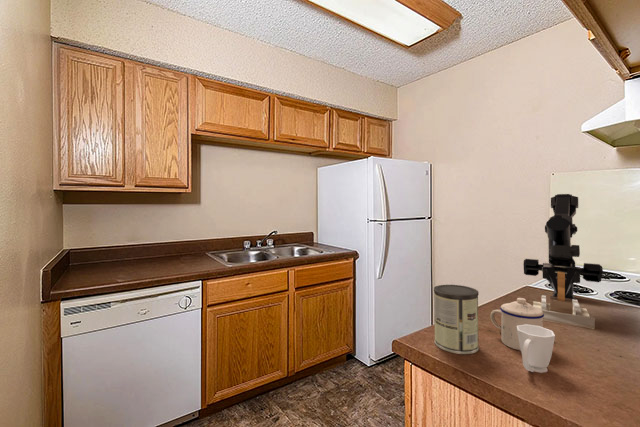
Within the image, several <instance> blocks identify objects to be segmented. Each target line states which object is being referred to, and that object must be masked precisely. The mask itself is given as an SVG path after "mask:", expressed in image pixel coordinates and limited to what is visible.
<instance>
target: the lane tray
mask: <svg viewBox="0 0 640 427" xmlns="http://www.w3.org/2000/svg"><path fill="white" fill-rule="evenodd" d="M572 303H573V314H567V313H560V312H554V311H550V302H548V303H547V295H541V302H540V301H532V306H534V307H536V308H539V309H540V310H542V312H543V314H544V317H543V322H544V321H545V322H551V323H556V324H557V323H558V324H562V325H569V326H573V327H574V326H575V327H581V328H584V329H585V328H586V329H592V330H596V329H595V327H596V325H595V324H596V323H595V321H596V319H595V317H592V316H590V314H589V311H588V310H587V308H584V307H583V308H582V307H580V303H579V301H578V299H575V300H574V299H572Z"/></svg>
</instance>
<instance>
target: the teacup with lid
mask: <svg viewBox="0 0 640 427" xmlns="http://www.w3.org/2000/svg"><path fill="white" fill-rule="evenodd" d="M496 313H497V314H501V320H500V322H501V325H500V324H499V323H498V322H497V321H496V318H495V316H496V315H495V314H496ZM489 317H490V321H491V323H492V325H493V326H494V327H495V328H497V329H499V330H500V331H501V338H500V339H501V342H502V343H503V344H504V345H505V346H506V347H508V348H510V349H513V350H516V351H519V352H521V349H520V343H519V337H518V331H517V326H518V325H525V324H528V325H535V326H541V327H543V326H544V320H543V317H544V314H543V312H542V310H540V309H539V308H536V307H534V306H533V304H531V303H529V302H527V299H526V298H523V297H517V298H516V301H511V302H508V303H503V304H501V305H500V308H499V309H494V310H491V312H490V316H489ZM543 328H544V327H543Z"/></svg>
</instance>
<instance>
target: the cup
mask: <svg viewBox="0 0 640 427" xmlns="http://www.w3.org/2000/svg"><path fill="white" fill-rule="evenodd" d="M517 331H518V337H519V343H520V349H521V351H520V353H521V357H522V358H521V359H522V365H523V368H524V369H525V370H526V371H529V372H531V373H535V372H536V373H540V374H542V373H547V372H548V368H547V367H548V366H549V365H550V361H551V359H552V356H553V355H552V354H553V350H554V344H555V338H556V335H555V332H554V331H553V330H551V329H548V328H546V327H541V326H535V325H528V324H525V325H518V326H517Z"/></svg>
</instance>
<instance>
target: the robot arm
mask: <svg viewBox="0 0 640 427" xmlns="http://www.w3.org/2000/svg"><path fill="white" fill-rule="evenodd" d="M550 208H551V209H552V210H553V215H552V216H550V217H549V219H548V220H547V221H546V223H545V225H544V232H545V233H546V234H547V239H548V243H547V244H548V262H543V263H542V264H539V259H537V258H535V259H534V258H524V260H523V264H522V265H523V274H524V275H525V276H533V277H537V276H538V275H539V273H540V272H539V271H541V272H542V279H544V280H547V282H548V283H549V284H550V286H551V287H552V289H553V292H552V296H553V297H557V294H558V286H557V272H564V273H565V298H568V299H574V300H576V297H575V294H574V284H580V283H581V275H582V279H583V280H584V281H586V282H594V283H601V281H602V278H603V273H604V270H603V266H602V265H601V264H600V263H588V262H587V263H586V262H583V267H581V266H576V261H575V259H574V258H580V256H581V253H580V252H581V251H580V245H579V244H571V243H572V242H571V239H572V238H573V236H574V235H576V234H577V232H578V226H576V224H575V223H573V218H574V217H575V215H576V214H577V209H579V196H574V195H573V194H570V193H558V194H554V196H552V197H550Z"/></svg>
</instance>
